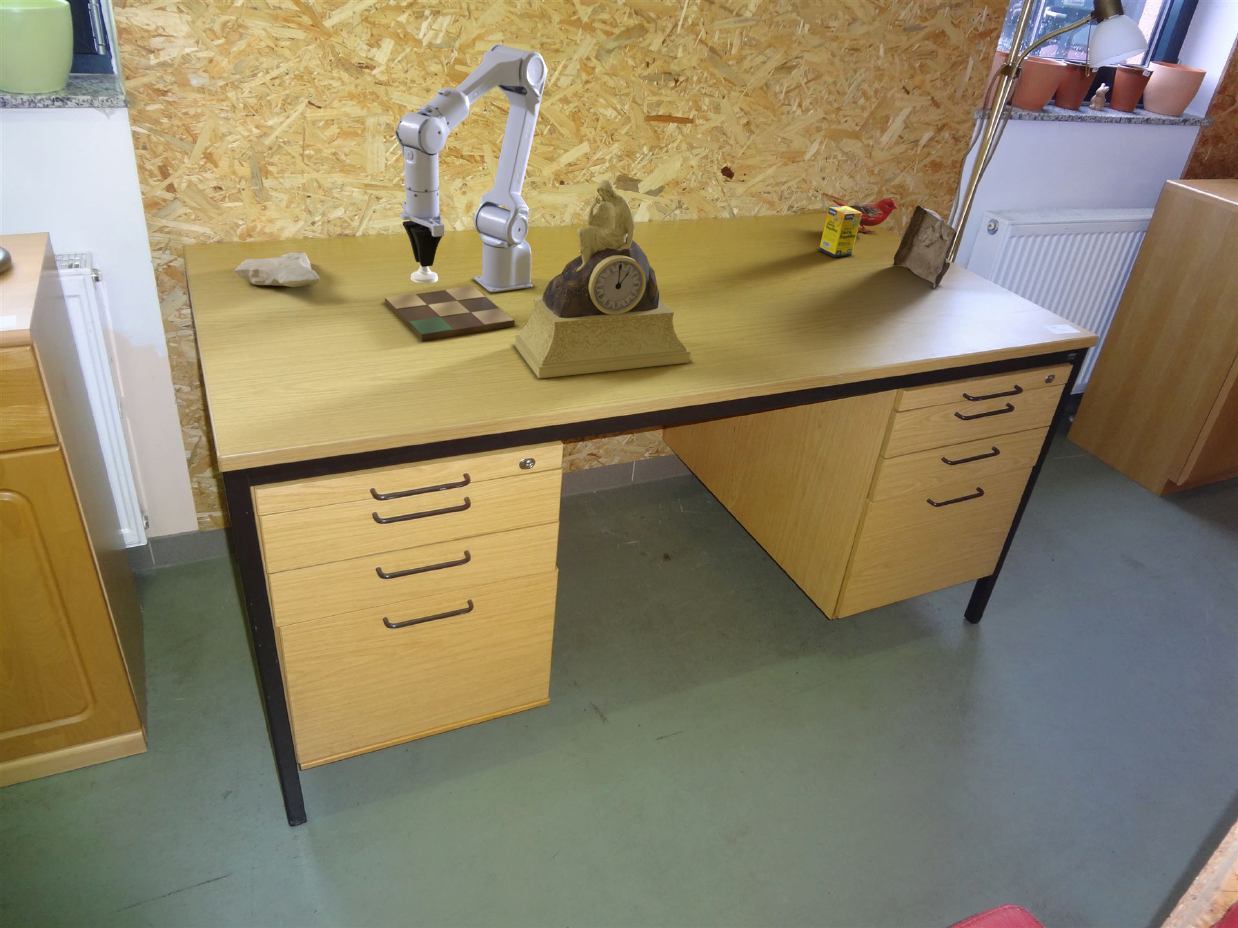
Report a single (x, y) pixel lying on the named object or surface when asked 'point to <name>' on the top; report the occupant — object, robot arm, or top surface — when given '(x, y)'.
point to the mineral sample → (926, 245)
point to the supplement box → (840, 231)
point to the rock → (279, 271)
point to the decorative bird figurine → (873, 212)
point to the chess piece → (424, 275)
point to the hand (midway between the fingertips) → (424, 263)
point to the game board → (448, 313)
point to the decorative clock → (601, 304)
